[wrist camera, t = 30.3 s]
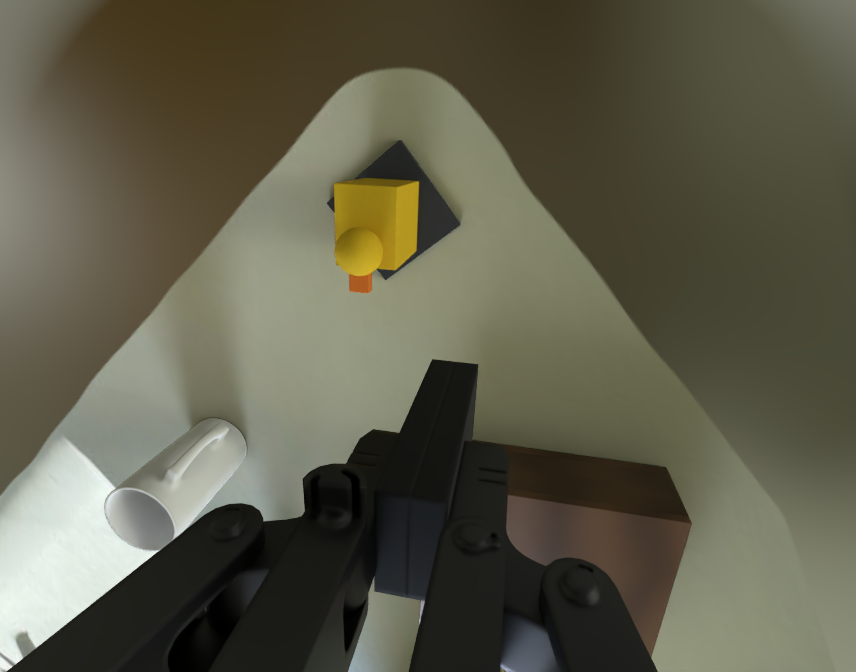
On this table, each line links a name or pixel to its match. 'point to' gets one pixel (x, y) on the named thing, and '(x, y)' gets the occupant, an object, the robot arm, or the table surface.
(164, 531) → the mug
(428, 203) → the coaster
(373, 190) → the duck
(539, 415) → the table surface
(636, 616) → the lid
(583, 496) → the chest
